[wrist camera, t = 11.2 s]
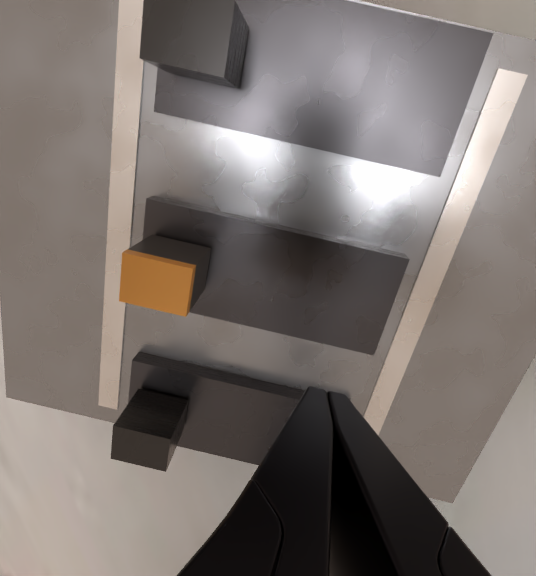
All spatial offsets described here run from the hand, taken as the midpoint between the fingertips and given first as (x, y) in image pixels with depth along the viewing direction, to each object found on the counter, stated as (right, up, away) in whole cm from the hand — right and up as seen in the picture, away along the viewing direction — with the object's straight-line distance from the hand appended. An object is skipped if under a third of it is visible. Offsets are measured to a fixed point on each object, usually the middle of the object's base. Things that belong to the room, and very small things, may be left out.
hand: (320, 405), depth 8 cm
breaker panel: (-1, +4, +9) cm, 10 cm away
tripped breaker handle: (-5, +4, +7) cm, 9 cm away
